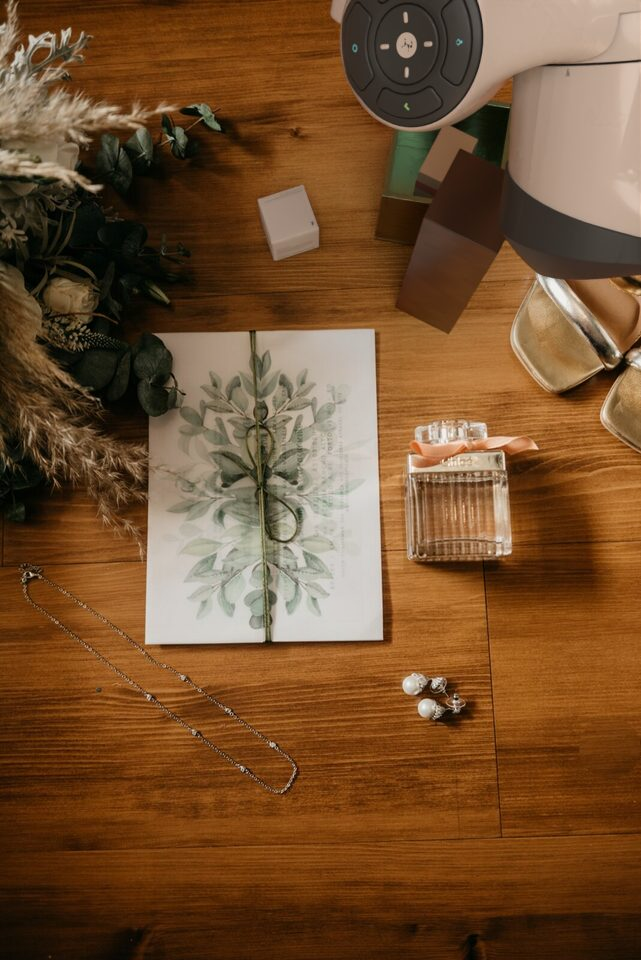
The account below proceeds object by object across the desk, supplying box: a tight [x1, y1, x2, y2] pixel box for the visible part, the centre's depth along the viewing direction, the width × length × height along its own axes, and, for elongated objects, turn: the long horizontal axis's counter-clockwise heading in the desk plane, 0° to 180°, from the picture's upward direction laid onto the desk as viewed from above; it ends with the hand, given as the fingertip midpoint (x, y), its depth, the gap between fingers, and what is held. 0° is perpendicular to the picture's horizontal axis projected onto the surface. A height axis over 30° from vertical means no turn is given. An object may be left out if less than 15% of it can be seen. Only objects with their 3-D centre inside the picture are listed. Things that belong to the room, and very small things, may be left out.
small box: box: [257, 184, 320, 262], centre depth 82 cm, size 6×6×5 cm
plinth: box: [395, 148, 506, 335], centre depth 72 cm, size 7×7×23 cm
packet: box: [413, 126, 478, 199], centre depth 80 cm, size 4×6×9 cm
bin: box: [373, 99, 511, 247], centre depth 79 cm, size 12×12×11 cm
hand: (497, 6), depth 55 cm, fingers open, 8 cm apart
